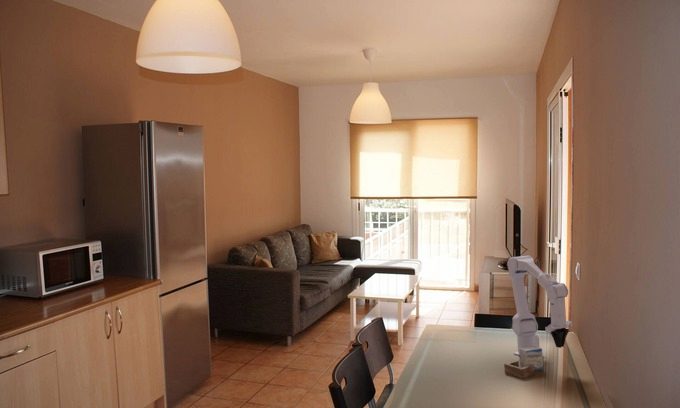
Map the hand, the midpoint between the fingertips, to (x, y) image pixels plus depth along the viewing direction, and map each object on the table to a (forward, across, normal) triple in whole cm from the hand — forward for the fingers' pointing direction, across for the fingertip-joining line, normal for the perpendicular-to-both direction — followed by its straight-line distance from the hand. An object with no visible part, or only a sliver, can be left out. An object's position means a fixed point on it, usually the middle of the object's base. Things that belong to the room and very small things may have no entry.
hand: (559, 346), depth 220 cm
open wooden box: (+9, -15, +8) cm, 19 cm away
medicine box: (+10, -8, +8) cm, 15 cm away
